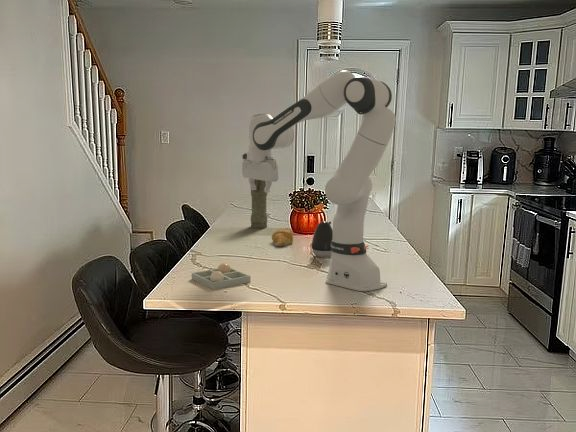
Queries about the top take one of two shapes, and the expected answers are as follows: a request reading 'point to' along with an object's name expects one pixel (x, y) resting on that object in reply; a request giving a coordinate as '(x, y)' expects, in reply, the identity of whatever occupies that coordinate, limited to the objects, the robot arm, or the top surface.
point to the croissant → (282, 237)
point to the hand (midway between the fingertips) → (259, 191)
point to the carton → (229, 280)
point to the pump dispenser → (322, 240)
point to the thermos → (259, 205)
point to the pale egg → (216, 276)
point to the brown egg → (224, 268)
